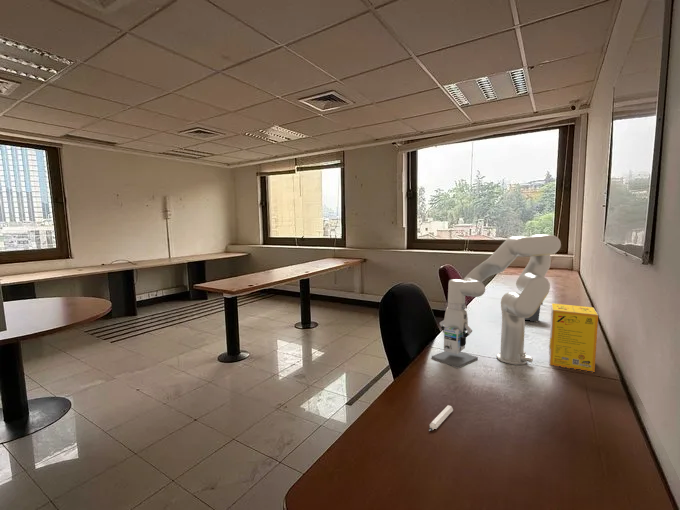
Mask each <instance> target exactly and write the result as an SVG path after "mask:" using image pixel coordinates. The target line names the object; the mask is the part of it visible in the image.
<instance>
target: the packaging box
mask: <svg viewBox="0 0 680 510" xmlns="http://www.w3.org/2000/svg"><path fill="white" fill-rule="evenodd" d="M550 308H551V309H550V310H551V311H550V326H549V327H550V328H549V346H548V347H549V349H548V360H549V362H548V363H549V366H553V365H554V366H555V367H559V366H561V368H565V367H567V368H566V369H570V368H574V369H573V370H576V369H581V370H587V371H593V372H595V370H596V356H597V342H598V341H597V340H598V339H597V338H598V324H599V314H598V312H597V311H596V309H595V308H594V307H591V306H582V305H571V304H563V303H562V304H561V303H551V307H550ZM581 370H580V371H581ZM587 371H586V372H587ZM593 372H592V373H593Z"/></svg>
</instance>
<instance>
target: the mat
mask: <svg viewBox="0 0 680 510" xmlns="http://www.w3.org/2000/svg"><path fill="white" fill-rule="evenodd" d="M431 359H433V360H436V361H438V362H440V363H444V364H446V365H448V364H449V365H448V366H451V367H454V368H456V369H457V368H458V369H459V368H461V367H464V366H466V365H468V364H471V363H473V362H474V361H477V360H478V359H479V357H478V356H475V355H472V354H469V353H466V352H463V351H461V352H459V353H458V354H455V353H451V352H447V351H444V350H443V351H441V352H439V353H436V354H433V355H432V356H431Z"/></svg>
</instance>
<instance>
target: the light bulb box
mask: <svg viewBox="0 0 680 510" xmlns="http://www.w3.org/2000/svg"><path fill="white" fill-rule="evenodd" d="M465 332H466V333H467V331H465ZM443 335H444V337H443V352H444V351H447V352H451V353H455V354H458V353H459V352H463V351H464V349H465V348H466V345H465V346H462V347H461V346H460V338H462V337H461V333H460V330H458V329H455V328H452V327H446V328H444V332H443Z"/></svg>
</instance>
